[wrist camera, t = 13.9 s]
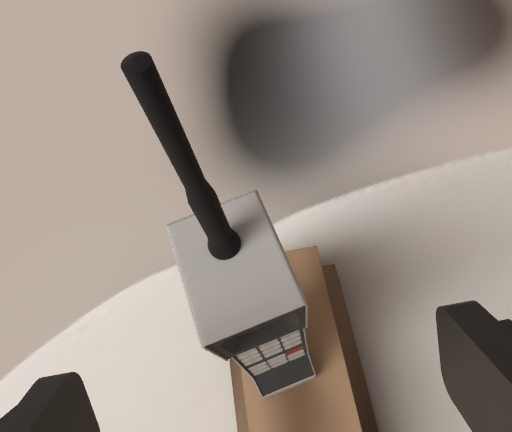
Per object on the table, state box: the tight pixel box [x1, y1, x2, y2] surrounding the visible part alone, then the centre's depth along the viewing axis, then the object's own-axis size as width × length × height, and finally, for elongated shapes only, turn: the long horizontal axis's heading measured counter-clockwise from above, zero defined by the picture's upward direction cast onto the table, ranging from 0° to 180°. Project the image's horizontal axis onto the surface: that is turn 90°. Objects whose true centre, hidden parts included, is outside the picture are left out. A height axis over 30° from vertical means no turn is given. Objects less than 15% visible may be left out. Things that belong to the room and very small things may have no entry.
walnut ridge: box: [229, 246, 378, 432], centre depth 30 cm, size 10×22×6 cm, turn 9°
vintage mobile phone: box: [121, 51, 316, 399], centre depth 18 cm, size 4×5×25 cm
